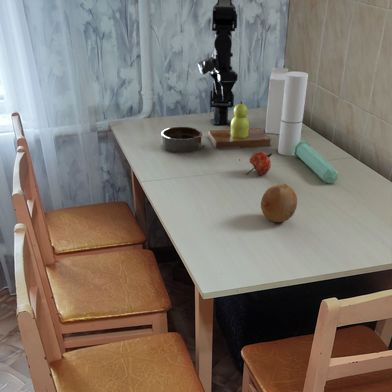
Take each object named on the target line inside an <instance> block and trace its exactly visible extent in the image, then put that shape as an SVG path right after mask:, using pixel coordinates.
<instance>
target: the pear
mask: <svg viewBox="0 0 392 392" xmlns="http://www.w3.org/2000/svg"><path fill="white" fill-rule="evenodd" d="M248 114H249V109H248V106H247V105H246V104H245V103H243V101H242V100H241V101H239V103H237V104H236V105H235V106H234V108H233V118H232V119H231V121H230V130H231V136H232V137H235V138H245V137H247V136H248V131H249V129H250V121H249V119H248V117H247V116H248Z"/></svg>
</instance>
